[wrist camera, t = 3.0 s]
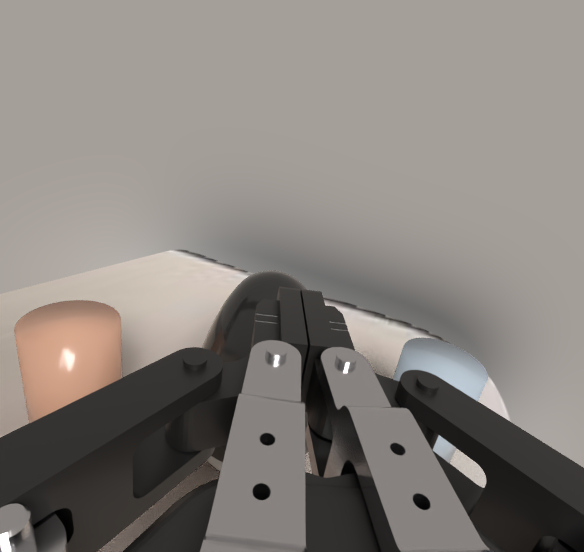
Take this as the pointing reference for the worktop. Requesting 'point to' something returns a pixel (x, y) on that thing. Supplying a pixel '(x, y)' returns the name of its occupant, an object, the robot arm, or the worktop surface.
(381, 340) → the worktop surface
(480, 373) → the slate-blue canister
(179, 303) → the worktop surface
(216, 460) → the pump dispenser
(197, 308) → the worktop surface
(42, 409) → the terracotta canister
